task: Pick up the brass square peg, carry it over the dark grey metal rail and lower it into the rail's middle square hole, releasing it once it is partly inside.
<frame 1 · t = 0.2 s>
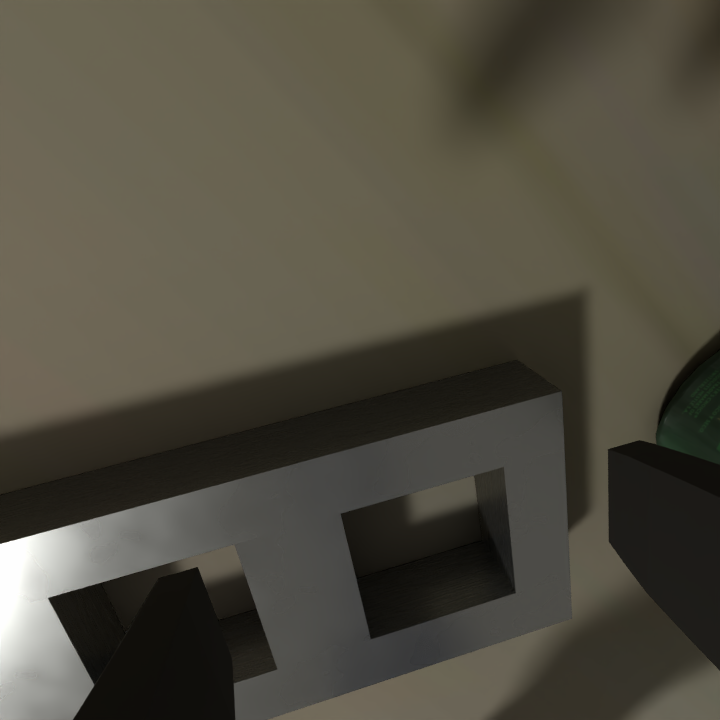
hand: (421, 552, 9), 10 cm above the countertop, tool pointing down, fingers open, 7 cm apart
rail: (181, 571, 20), on the countertop
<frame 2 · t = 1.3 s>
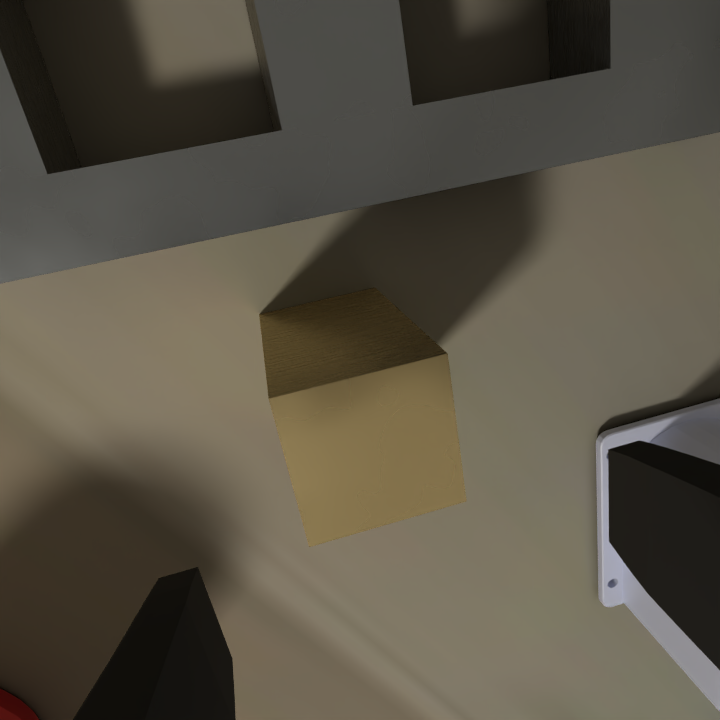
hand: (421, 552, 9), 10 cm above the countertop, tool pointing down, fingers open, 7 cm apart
brass peg: (329, 355, 19), on the countertop
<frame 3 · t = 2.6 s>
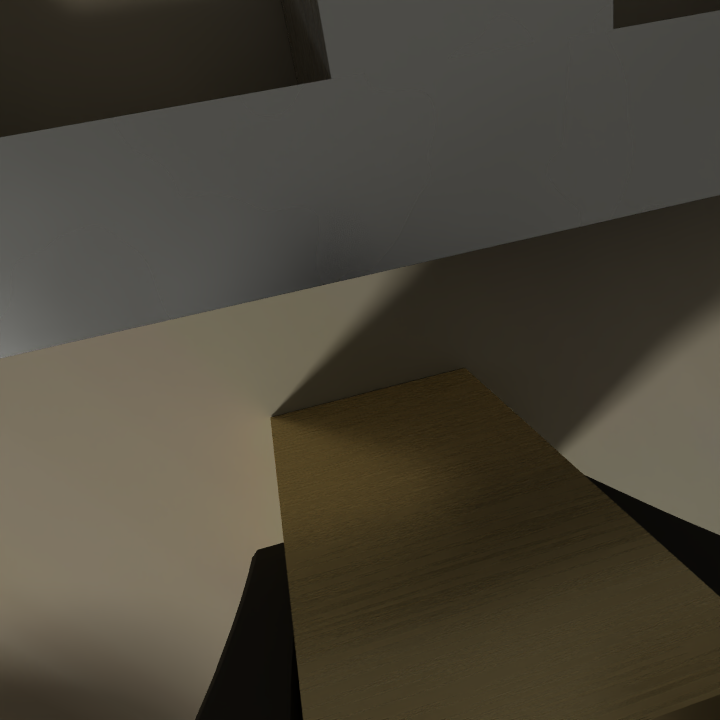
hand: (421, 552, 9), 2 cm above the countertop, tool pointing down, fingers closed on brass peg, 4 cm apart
brass peg: (385, 476, 11), on the countertop, touching gripper
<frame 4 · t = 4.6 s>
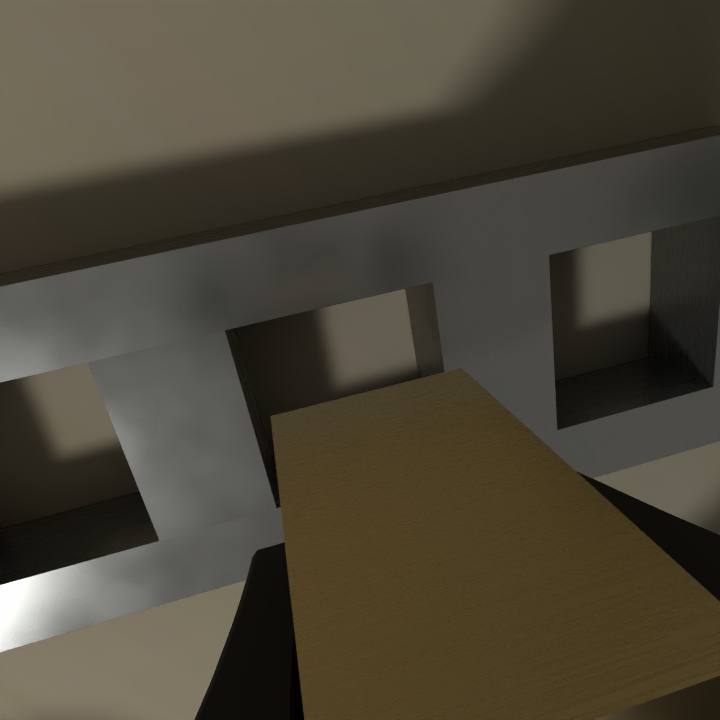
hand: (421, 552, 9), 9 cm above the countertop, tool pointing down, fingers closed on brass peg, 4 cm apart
brass peg: (384, 474, 11), point 7 cm above the countertop, touching gripper
rail: (334, 364, 18), on the countertop
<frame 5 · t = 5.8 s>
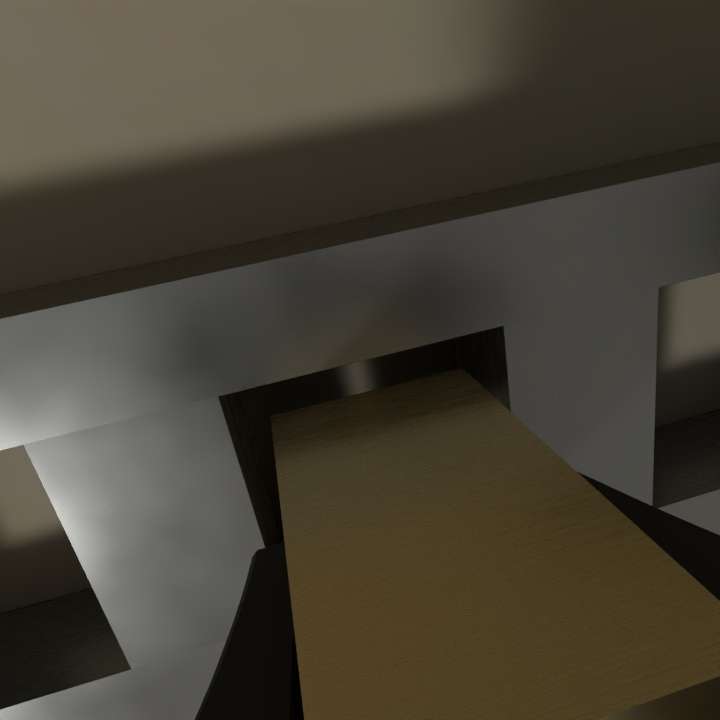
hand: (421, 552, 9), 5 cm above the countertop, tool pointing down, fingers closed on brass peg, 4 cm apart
brass peg: (384, 474, 11), point 3 cm above the countertop, touching gripper
rail: (360, 420, 14), on the countertop
when the fingers open (4 cm above the countertop, at t = 6.6 s): brass peg drops 1 cm, resting in rail.
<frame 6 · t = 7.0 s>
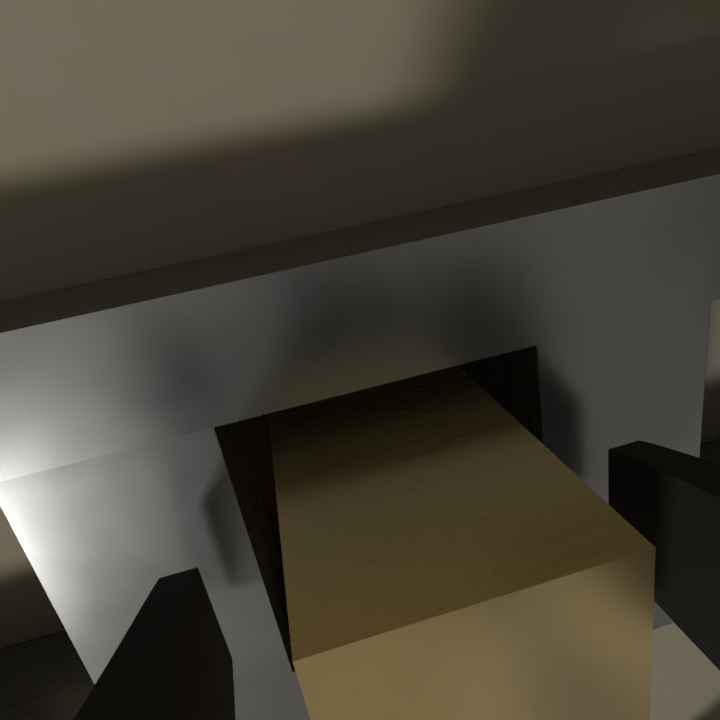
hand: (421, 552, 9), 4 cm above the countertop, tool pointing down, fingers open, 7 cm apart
brass peg: (368, 444, 13), resting in rail
rail: (370, 442, 13), on the countertop
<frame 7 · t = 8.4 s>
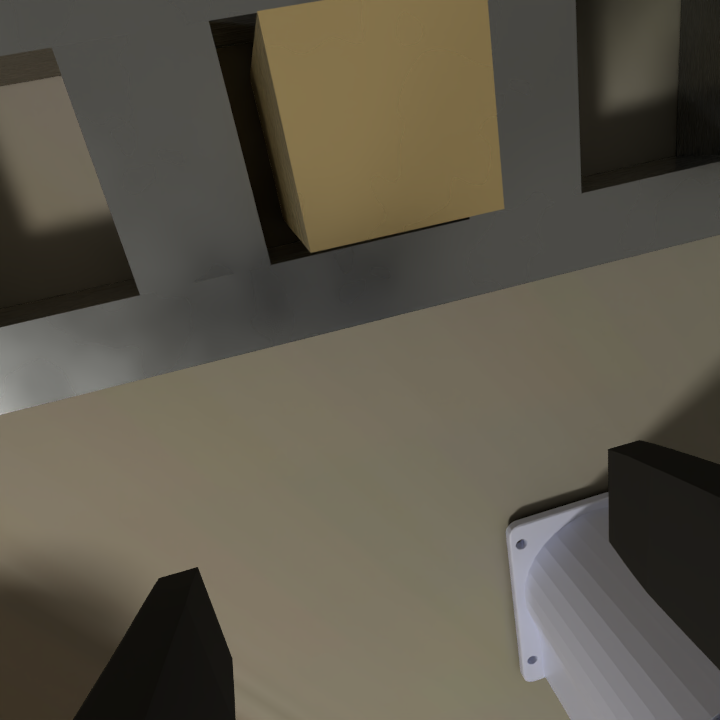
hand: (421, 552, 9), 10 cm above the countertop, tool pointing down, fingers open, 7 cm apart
brass peg: (332, 138, 16), resting in rail
rail: (333, 136, 16), on the countertop
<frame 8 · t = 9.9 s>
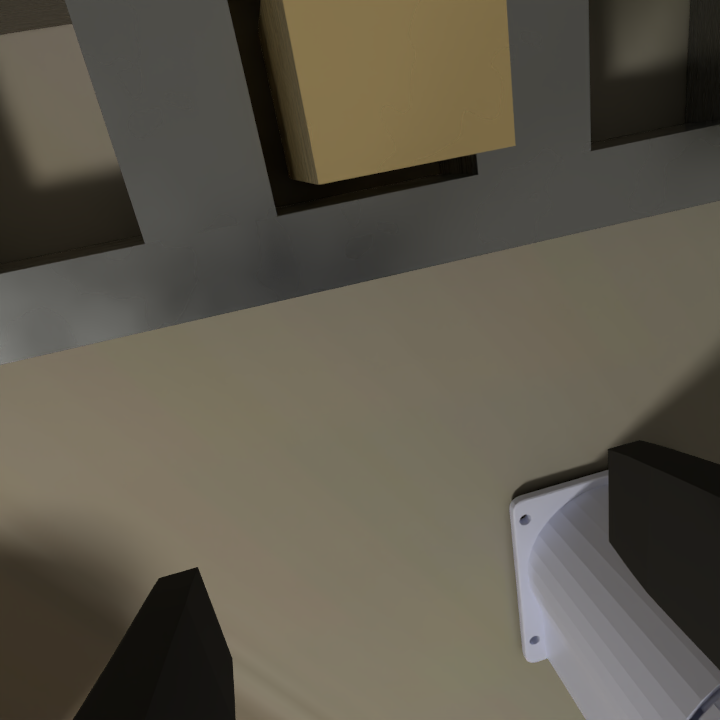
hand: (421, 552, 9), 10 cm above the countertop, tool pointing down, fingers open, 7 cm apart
brass peg: (339, 96, 16), resting in rail
rail: (341, 94, 16), on the countertop
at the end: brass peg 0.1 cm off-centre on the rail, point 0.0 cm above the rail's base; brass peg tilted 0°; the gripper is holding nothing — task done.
